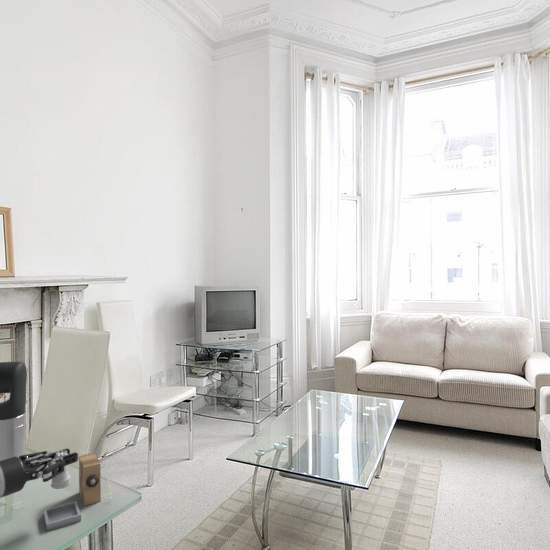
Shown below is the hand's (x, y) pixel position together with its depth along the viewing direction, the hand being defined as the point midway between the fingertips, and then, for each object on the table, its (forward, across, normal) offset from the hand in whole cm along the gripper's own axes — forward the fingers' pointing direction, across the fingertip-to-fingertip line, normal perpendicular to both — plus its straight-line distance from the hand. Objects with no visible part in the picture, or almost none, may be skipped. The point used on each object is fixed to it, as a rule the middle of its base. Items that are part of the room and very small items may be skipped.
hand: (72, 454), depth 106 cm
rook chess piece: (-3, 0, +7) cm, 7 cm away
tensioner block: (+7, +4, +15) cm, 17 cm away
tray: (-3, 0, +15) cm, 15 cm away
